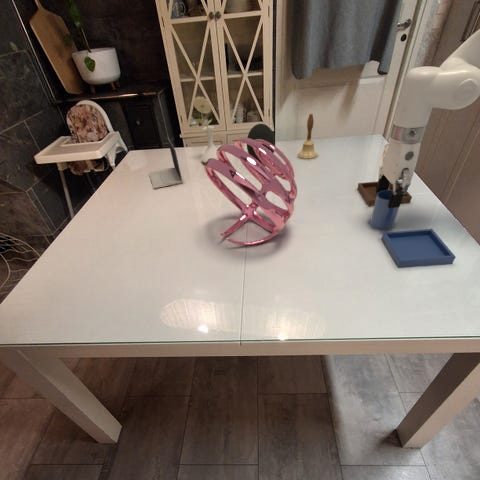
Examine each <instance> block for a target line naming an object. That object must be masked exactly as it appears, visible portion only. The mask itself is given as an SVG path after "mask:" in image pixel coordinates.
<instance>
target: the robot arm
mask: <svg viewBox="0 0 480 480" xmlns="http://www.w3.org/2000/svg"><path fill="white" fill-rule="evenodd" d="M479 97H480V28H479V29H478V30H476V31H475V32H474V33H473V34H472V35H470V36H469V37H468V38H467V39H466V40H465V41H464V42H463V43H461V45H459V47H458V48H457V49H456V50H455V51H453V53H451V54H450V55H449V56H448V57H447V58H446V59H445V60H444V61H443V62H442V64H440V65H439V67H438V66H430V65H429V66H428V65H427V66H417V67H413V68H411V69H409V71H408V72H407V74H406V75H405V78H404V81H403V85H402V89H401V91H400V96H399V100H398V104H397V107H396V112H395V115H394V119H393V123H392V127H391V130H390V134H389V138H388V139H389V142H388V144H389V145H388V148H387V151H386V154H385V157H384V158H383V165H382V168H381V170H382V172H381V174H380V179H379V183H378V187H377V190H376V191H377V192H380V191H383V190H388V188H389V185H390V182H391V183H392V184H393V193H391V196H390V199H389V203H388V206H387V207H388V208H397V207H399V208H400V207H401V205H402V204H401V201H402V198H403V195H404V194H405V192H406V191H407V192H408V190H409V188H410V186H411V184H412V180H413V177H414V173H415V170H416V167H417V163H418V159H419V155H420V151H421V150H420V149H421V143H422V142H421V141H423V138H424V134H425V132H426V128H427V126H428V123H429V119H430V117H431V114H432V111H433V109H442V110H443V109H444V110H452V111H453V110H454V111H455V110H461V109H464V108H466V107H468V106H470V105H472V104H473V103H474V102H475V101H476V100H478V99H479ZM397 180H398V181H397ZM397 185H402V187H399V188H398V189H397Z"/></svg>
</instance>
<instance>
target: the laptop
mask: <svg viewBox="0 0 480 480" xmlns="http://www.w3.org/2000/svg"><path fill="white" fill-rule="evenodd" d="M167 142H168V145H169V146H168V147H169V150H170V154H171V158H172V162H173V167H170V168H166V169H165V168H164V169H160V170H155V171H151V172H148V175H149V179H150V182H151V184H152V187H153V189H159V188H164V187H169V186H175V185H179V184H183V178H182V173H181V168H180V165H179V160H178V155H177V151H176V149H175V147H174V145H173V144H172V141H171V140H170V138H169V137H167Z"/></svg>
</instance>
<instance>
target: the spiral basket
mask: <svg viewBox="0 0 480 480" xmlns="http://www.w3.org/2000/svg"><path fill="white" fill-rule="evenodd" d="M243 143H244V144H246V145H247V144H248V145H250V146H252V147H253V149H254V151H255V153H256V155H257V156H258V158H259V159H260V160H261V161H262V163H260V162H259V161H258V160H257V159H255V158H254V157H253V156H251V155H250V154H249V153H248V151H246V150H245V149H244V146H243V145H244V144H243ZM262 144H264V145H266V146H268V147H270V148H271V149H272V150H274V153H272V152H271V151H270V150H269V149H267V148H266V147H265V146H263V145H262ZM217 149H218V150H217V158H218V160H217V159H214V158H210V159H209V160H208V161H207V162H206V163H204V167H203V170H204V172H205V174H206V176H207V177H208V179H209V180H210V181H211V183H212V184H213V185H214V186H215V187H216V188H217V189H218V191H219V192H220V193H221V194H222V195H223V196H224V197H225V198H226V199H227V200H228V201H229V202H231V204H232V205H234V206H235V207H236V208H237V209H238V210H239V211H240V212H241V215H240V216H239V218H237V219H236V221H235V222H234V223H233V224H231V226H230V227H228V228H227V229H226V230H224V231H223V232H221V233H219V236H220V237H223V236H228V235H230V234H232V233H234V232H235V231H237V230H238V229H239V228H240V227H242V226H243V225H244V224H245V223H246V222H247V221H248V220H251V221H253V222H254V223H256V224H257V225H258V226H261V227H262V228H263V229H265V230H267V231H269V232H271V233H270V234H268V235H267V236H265V237H263V238H260V239H257V240H254V241H239V240H235V239H233V238H229V237H226V238H225V240H226V241H227V242H229V243H232V244H235V245H240V246H254V245H258V244H262V243H264V242H266V241H268V240H270V239H272V238H274V236H276V235H277V234H279V233H281V231H283V229H284V227H285V225H286V224H287V222H288V221H289V219H290V218H291V217H292V216H293V214H294V210H295V200H296V199H297V196H298V185H297V182H296V180H295V169H294V168H293V164H292V163H291V161H290V160H289V158H288V157H287V156H286V154H284V153H283V152H282V150H280V149H279V148H278V147H277V146H276V145H275V146H274V145H273V144H271V143H269V142H268V141H265V140H262V139H255V140H253V139H250V138H247V137H238V138H236V139H235V140H234V141H233V144H232V143H224V144H222V145H221V146H219V147H217ZM226 153H228V154H230V155H232V156H234V157H235V158H237V159H238V160H239V161H240V162H241V164H242V165H243V166H244V168H245V169H247V171H248V172H249V173H250V174H251V176H253V178H255V180H257V181H258V183H260V184H261V188H260V189H258V188H257V187H256V186H255V185H254V184H253V183H251V182H250V180H248V179H247V178H246V177H245V176H243V175H242V174H241V173H239V172H238V171H237V169H236V168H235V167H234V166H233V165H232V163H231V161H230V160H229V158H228V156H227V154H226ZM275 153H276V154H277V155H278V156H279V157H280V158H281V159H282V160H283V162H282V161H281V159H280V158H278V156H277V155H276V154H275ZM217 173H219V174H220V175H221V176H223V177H225V178H226V179H227V180H229V181H230V182H231V183H232V184H233V185H235V186H236V187H237V188H239V189H240V190H241V191H242V192H243V193H245V194H246V195H247V196H248V197H249V198H250V199H251V202H250V203H249V204H246V203H245V202H244V201H242V199H241V198H240V197H238V196H237V195H236V194H235V193H234V192H233V191H232V190H231V189H230V188H229V187H228V186H227V184H225V182H224V181H223V180H222V179H221V178H220V177H219V176H218V174H217ZM277 177H278V178H280V179H282V180H284V181H286V182H288V183H289V185H290V190H288V189H286V187H285V186H284V185H283V184H282V183H281V181H280V180H279V179H278V178H277ZM268 192H271V193H273V194H274V195H275V196H277V197H279V198H280V199H281V200H282V202H283V203H284V205H285V207H286V209H285V208H282V207H280V206H278V205H276V204H275V203H273V202H271V201H270V200H269V199H268V197H266V196H267V193H268ZM258 208H260V209H261V210H262V211H263V212H264V213H265V214H266V215H267V216H268V218H270V220H271V221H272V222H270V221H269V220H268V219H265V218H264V217H263V216H261V214H258V212H257V209H258Z"/></svg>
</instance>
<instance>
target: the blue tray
mask: <svg viewBox="0 0 480 480" xmlns="http://www.w3.org/2000/svg"><path fill="white" fill-rule="evenodd" d="M381 241H382V243H383V244H384V246H385V248H386V250H387V252H388V253H389V254H390V256H391V258H392V260H393V261H394V263H395V265H396V267H397V268H410V267H421V266H422V267H423V266H424V267H425V266H437V265H450V264H451V265H452V264H453V263H454V261H455V259H456V255H455V254H454V252H452V251H451V249H450V248H449V247H448V245H446V243H445V242H444V241H443V239H441V238H440V235H438V234H437V233H436V231H435V230H434V229H433V228H423V229H411V230H410V229H409V230H400V231H399V230H397V231H387V232H385V231H384V232H382V235H381Z"/></svg>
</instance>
